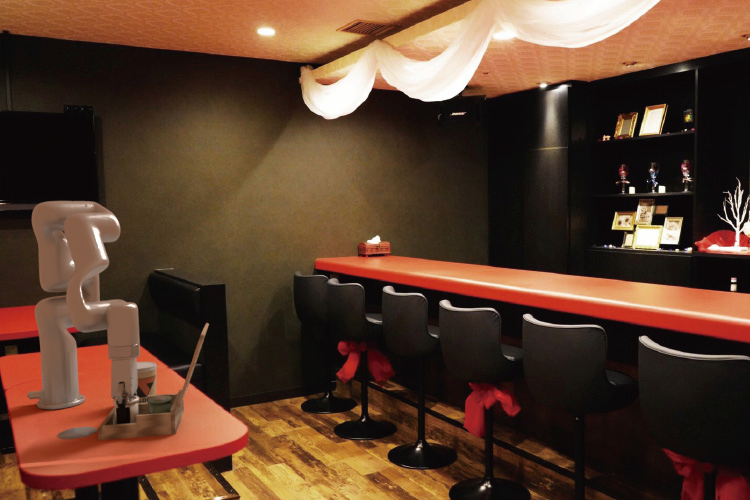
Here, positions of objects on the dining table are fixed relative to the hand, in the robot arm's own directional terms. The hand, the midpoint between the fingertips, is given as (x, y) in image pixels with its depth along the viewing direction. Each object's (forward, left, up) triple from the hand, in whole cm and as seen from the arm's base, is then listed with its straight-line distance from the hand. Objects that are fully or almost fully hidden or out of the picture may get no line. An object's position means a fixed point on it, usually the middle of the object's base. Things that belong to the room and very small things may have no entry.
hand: (127, 417), depth 161 cm
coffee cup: (0, +20, -3) cm, 21 cm away
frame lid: (+16, 0, +13) cm, 21 cm away
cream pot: (0, 0, -2) cm, 2 cm away
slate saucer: (-12, -2, -3) cm, 12 cm away
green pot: (+8, +1, -2) cm, 8 cm away
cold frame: (+4, 0, -3) cm, 5 cm away
